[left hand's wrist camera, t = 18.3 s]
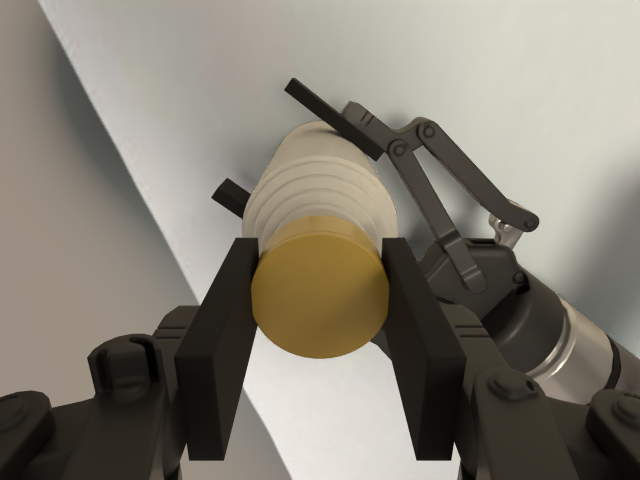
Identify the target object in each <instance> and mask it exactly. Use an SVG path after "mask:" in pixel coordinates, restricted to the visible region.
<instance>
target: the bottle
mask: <svg viewBox="0 0 640 480" xmlns="http://www.w3.org/2000/svg"><path fill="white" fill-rule="evenodd" d="M315 215H327V216H333V217H338V218H341V219H344V220H346V221H349V222H351V223H353V224H354V225H356V226H358V227H359V228H360V229H362V230H363V231H364V232H365V233H366V234H367V235H368V236H369V237H370V238H371V239H372V241H373V242H374V244H375V245H376V247H377V249H378V251H379V254H380V257H381V252H382V238H397V237H398V220H397V214H396V210H395V206H394V204H393V201H392V199H391V197H390V195H389V193H388V191H387V190H386V188H385V186H384V185H383V183H382V181H381V180H380V178H379V176H378V174H377V173H376V171H375V169H374V168H373V166H372V164H371V163H370V161H369V159H368V158H367V156H366V154H365V153H364V152H363V151H362V150H360V149H359V148H358V147H357V146H355V145H354V144H353V143H351V142H350V141H349V140H348V139H346V138H345V137H344V136H342V135H341V134H340V133H339V132H337V131H336V130H335V129H333V128H332V127H331V126H330V125H328V124H327V123H326V122H325V121H313V122H308V123H305V124H302V125H300V126H298V127H297V128H295V129H294V130H292V131H291V132H290V133H289V134H288V135H287V136H286V137H285V138H284V140H283V141H282V143H281V144H280V146H279V148H278V149H277V151H276V153H275V155H274V156H273V158H272V160H271V161H270V163H269V165H268V166H267V168H266V170H265V172H264V173H263V175H262V177H261V178H260V180H259V182H258V184H257V185H256V187H255V189H254V190H253V192H252V194H251V196H250V198H249V200H248V202H247V204H246V208H245V211H244V216H243V222H242V234H243V238H258V244H259V258H260V255H261V252H262V250H263V248H264V246H265V244H266V243H267V241H268V240H269V239H270V238H271V236H272V235H273V234H274V233H275V232H276V231H277V230H279V229H280V228H281V227H283V226H284V225H286V224H288V223H290V222H292V221H294V220H297V219H299V218H303V217H307V216H315Z"/></svg>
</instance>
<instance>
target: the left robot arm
mask: <svg viewBox="0 0 640 480" xmlns="http://www.w3.org/2000/svg"><path fill="white" fill-rule="evenodd" d="M381 260H382V263H383V265H384V268H385V271H386V274H387V277H388V280H389V302H388V315H387V317H386V320H385V322H384V324H383V328H384V332H385V336H386V340H387V344H388V348H389V352H390V356H391V360H392V364H393V368H394V372H395V376H396V380H397V384H398V388H399V392H400V396H401V400H402V404H403V408H404V412H405V416H406V420H407V424H408V428H409V432H410V436H411V440H412V444H413V448H414V452H415V456H416V460H417V461H451V458H452V452H453V445H454V442H455V445H456V447H457V450H458V453H459V456H460V458H461V461H460V467H459V473H458V479H457V480H640V395H638V394H635V393H631V392H628V391H624V390H616V389H606V390H600V391H598V392H597V393H595V394H594V395H593V396H592V399H591V403H590V406H586V405H581V404H576V403H572V402H567V401H563V400H558V399H555V398H552V397H548V396H546V395H545V392H544V391H543V390H542V388H541V387H540V385H539V384H538V383H537V382H536V381H535V380H533V379H532V378H531V377H529V376H528V375H526V374H524V373H522V372H520V371H517V370H515V369H511V368H510V366H509V365H508V363H507V362H506V360H505V358H504V357H503V355H502V354H501V352H500V351H499V349H498V348H497V346H496V345H495V343H494V342H493V340H492V339H491V338H489V334H488V332H487V331H486V329H485V328H483V325H482V323H481V322H480V320H479V319H478V317H477V316H476V314H475V313H473V312H472V311H470V310H469V309H468V308H466V307H465V306H463V305H462V304H439V303H438V301H437V299H436V297H435V295H434V293H433V291H432V289H431V288H430V286H429V284H428V282H427V280H426V278H425V276H424V274H423V272H422V270H421V268H420V266H419V265H418V263H417V261H416V259H415V257H414V255H413V253H412V251H411V249H410V247H409V245H408V243H407V242H406V240H405V238H382V252H381ZM258 261H259V244H258V238H236V239H235V241H234V242H233V244H232V246H231V248H230V250H229V252H228V254H227V256H226V258H225V260H224V262H223V264H222V266H221V267H220V269H219V271H218V273H217V275H216V277H215V279H214V281H213V283H212V285H211V287H210V289H209V290H208V292H207V294H206V296H205V298H204V300H203V302H202V304H201V306H178V307H176V308H175V309H174V310H172V311H171V312H169V313H168V314H167V315H165V317H164V318H163V320H162V321H161V323H160V324H159V326H158V329H156V330H155V332H154V334H153V335H152V336H151V335H147V334H129V335H124V336H119V337H116V338H114V339H111V340H109V341H106V342H104V343H103V344H101V345H100V346H98V347H97V348H95V349H94V350H93V351H92V352H91V354H90V355H89V356H88V357H87V359H88V363H89V367H90V371H91V376H92V380H93V384H94V388H95V392H96V393H95V396H94V398H92V399H88V400H85V401H81V402H76V403H72V404H67V405H63V406H58V407H54V408H52V407H51V404H50V400H49V398H48V397H47V396H46V395H45V394H44V393H42V392H37V391H23V392H16V393H13V394H9V395H6V396H3V397H0V480H182V473H181V467H180V459H181V456H182V454H183V451H184V448H185V445H186V443H187V448H188V455H189V460H190V461H223V460H224V458H225V454H226V450H227V446H228V442H229V438H230V434H231V430H232V426H233V422H234V418H235V414H236V410H237V406H238V402H239V398H240V394H241V390H242V386H243V382H244V378H245V374H246V370H247V366H248V362H249V358H250V354H251V350H252V346H253V342H254V338H255V334H256V330H257V326H258V325H257V323H256V321H255V319H254V316H253V310H252V295H251V282H252V279H253V276H254V273H255V270H256V267H257V264H258Z"/></svg>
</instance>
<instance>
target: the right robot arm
mask: <svg viewBox="0 0 640 480" xmlns="http://www.w3.org/2000/svg"><path fill="white" fill-rule="evenodd" d="M285 91H286V92H287V93H289V94H290V95H291V96H292V97H294V98H295V99H296V100H298V101H299V102H300V103H301V104H303V105H304V106H305V107H307V108H308V109H309V110H310V111H312V112H313V113H314V114H316V115H317V116H318V117H319V118H321V119H322V120H323V121H325V122H326V123H327V124H328V125H330V126H331V127H332V128H333V129H335V130H336V131H337V132H339V133H340V134H341V135H342V136H344V137H345V138H346V139H348V140H349V141H350V142H351V143H353V144H354V145H355V146H357V147H358V148H359V149H360V150H362V151H363V152H364V153H366V154H367V155H368V156H369V157H371V158H372V159H373V160H375V161H377V160H378V159H379V157H380V156H381V155H382V154H383V152H386V153H387V155H388V156H389V158H390V160H391V162H392V163H393V165H394V167H395V168H396V170H397V172H398V173H399V175H400V177H401V179H402V180H403V182H404V184H405V185H406V187H407V189H408V191H409V192H410V194H411V196H412V197H413V199H414V201H415V202H416V204H417V206H418V208H419V209H420V211H421V213H422V214H423V216H424V218H425V219H426V221H427V223H428V225H429V226H430V229H431V230H432V232H433V234H434V235H435V237H436V239H437V241H438V242H437V241H435V242H434V243H433V244H432V245H431V246H430V248H429V249H428V250H427V252H426V254H425V256H424V258H423V259H422V260H421V261H419V262H418V265H419V266H420V268H421V270H422V272H423V274H424V276H425V278H426V280H427V282H428V284H429V286H430V288H431V289H432V291H433V293H434V295H435V297H436V299H437V301H438V303H439V304H462V305H463V306H465V307H466V308H468V309H469V310H470V311H472V312H473V313H475V314H476V316H477V317H478V319H479V320H480V322H481V323H482V325H483V328H485V329H486V331H487V332H488V334H489V338H491V339H492V340H493V342H494V343H495V345H496V346H497V348H498V349H499V351H500V352H501V354H502V355H503V357H504V358H505V360H506V362H507V363H508V365H509V366H510V368H511V369H515V370H517V371H520V372H522V373H524V374H526V375H528V376H529V377H531V378H532V379H533V380H535V381H536V382H537V383H538V384H539V385H540V387H541V388H542V390H543V391H544V392H545V395H546V396H548V397H552V398H555V399H558V400H563V401H567V402H572V403H576V404H581V405H586V406H590V403H591V399H592V396H593V395H594V394H595V393H597V392H598V391H600V390H606V389H616V390H624V391H628V392H631V393H635V394H638V395H640V359H638V358H637V357H636V356H634V355H633V354H632V353H630V352H629V351H628V350H626V349H625V348H624V347H622V346H621V345H619V344H618V343H617V342H615V341H614V340H613V339H611V338H610V337H609V336H608V335H607V334H606V333H605V332H604V331H603V330H602V329H600V328H599V327H598V326H597V325H595V324H594V323H593V322H591V321H590V320H589V319H588V318H586V317H585V316H584V315H583V314H581V313H580V312H579V311H578V310H576V309H575V308H574V307H573V306H571V305H570V304H569V303H567V302H566V301H565V300H563V299H562V298H560V297H558V296H557V295H556V293H555V292H553V291H552V290H551V289H550V288H548V287H547V286H546V285H544V284H543V283H542V282H541V281H539V280H538V279H537V278H536V277H534V276H533V275H532V274H530V273H529V272H528V271H527V270H525V269H524V268H523V267H522V266H520V265H519V264H518V263H517V260H516V257H515V254H514V252H513V251H512V249H513V247H514V246H515V244H516V243H517V241H518V240H519V238H520V237H521V235H522V233H523V232H532V231H534V230H535V229H536V228H537V227H538V225H539V218H538V216H536V215H535V214H533V213H532V212H530V211H529V210H527V209H526V208H524V207H522V206H521V205H519V204H518V203H516V202H513V201H511V200H509V199H507V198H505V196H504V195H503V194H502V193H501V192H500V191H499V190H498V189H497V188H496V187H495V186H494V185H493V184H492V182H491V181H490V180H489V179H488V178H487V177H486V176H485V175H484V174H483V173H482V172H481V171H480V170H479V168H478V167H477V166H476V165H475V164H474V163H473V162H472V161H471V160H470V159H469V158H468V157H467V156H466V155H465V153H464V152H463V151H462V150H461V149H460V148H459V147H458V146H457V145H456V144H455V143H454V142H453V141H452V139H451V138H450V137H449V136H448V135H447V134H446V133H445V132H444V131H443V130H442V129H441V128H440V127H439V125H438V124H437V123H435V122H434V121H431V120H429V119H426V118H423V117H417V118H415V119H414V120H413V121H412V122H411V123H410V124H408V125H407V126H405V127H404V128H402V129H399V130H392V129H390V128H389V127H387V126H386V125H385V124H384V123H382V122H381V121H380V120H379V119H377V118H376V117H375V116H374V115H373V114H371V113H370V112H369V111H368V110H366V109H365V108H364V107H363V106H361V105H360V104H359V103H356V102H352V101H349V103H348V104H347V105H346V107H345V108H344V109H343V111H342V112H341V113H338V112H337V111H336V110H335V109H333V108H332V107H331V106H330V105H328V104H327V103H326V102H324V101H323V100H322V99H321V98H319V97H318V96H317V95H316V94H314V93H313V92H312V91H311V90H309V89H308V88H307V87H306V86H304V85H303V84H302V83H300V82H299V81H298V80H297V79H295V78H292V79H291V81H290V82H289V84H288V85H287V87H286V88H285ZM422 145H423V146H424V147H425V148H426V149H427V150H428V151H429V152H430V153H431V154H432V155H433V156H434V157H435V158H436V159H437V160H438V162H439V163H440V164H441V165H442V166H443V167H444V168H445V169H446V170H447V171H448V172H449V173H450V174H451V175H452V176H453V177H454V178H455V179H456V180H457V181H458V182H459V183H460V184H461V186H462V187H463V188H464V189H465V190H466V191H467V192H468V193H469V194H470V195H471V196H472V197H473V198H474V199H475V200H476V201H477V202H478V203H479V204H480V205H481V206H482V207H484V208H485V209H486V210H487V211H489V212H490V213H491V214H490V216H489V224H490V226H491V227H492V228H493V229H494V230H495V233H496V234H495V238H494V239H483V238H462V237H461V235H460V234H459V232H458V231H457V229H456V228H455V226H454V224H453V223H452V221H451V219H450V217H449V215H448V214H447V212H446V210H445V208H444V207H443V205H442V203H441V201H440V200H439V198H438V196H437V194H436V192H435V191H434V189H433V187H432V185H431V184H430V182H429V180H428V178H427V176H426V175H425V173H424V171H423V169H422V168H421V166H420V164H419V162H418V161H417V159H416V157H415V155H414V153H413V152H412V151H414V150H415V149H417V148H419V147H420V146H422ZM250 196H251V194H250V193H248V192H247V191H245V190H244V189H243V188H241V187H240V186H238V185H237V184H235V183H234V182H232V181H231V180H230V179H228V178H227V179H226V180H225V181H224V182H223V183H222V184H221V185H220V186H219V187H218V188H217V190H216V191H215V193H214V194H213V196H212V197H211V198H212V199H214V200H215V201H216V202H218V203H219V204H221V205H222V206H224V207H225V208H227V209H228V210H230V211H231V212H233V213H234V214H236V215H237V216H239V217H240V218H242V219H243V216H244V211H245V208H246V204H247V202H248V200H249V198H250ZM370 342H372V343H374V344H376V345H378V346H379V348H380V349H381V350H382V351H383V352H384V353H385V354H386V355H387V356H388V357H389V358H390V359H391V356H390V352H389V348H388V344H387V340H386V336H385V332H384V328H383V325H382V327H381V329H380V330H379V331H378V333H377V334H376V335H375V336H374V337H373V338H372V339H371V340H370ZM391 361H392V360H391Z"/></svg>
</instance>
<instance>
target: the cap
mask: <svg viewBox="0 0 640 480" xmlns="http://www.w3.org/2000/svg"><path fill="white" fill-rule="evenodd" d="M251 295H252V310H253V316H254V319H255V321H256V323H257V325H258V326H259V328H260V329H261V331H262V332H263V333H264V334H265V335H266V337H267V338H268V339H269V340H271V341H272V342H273V343H274V344H276V345H277V346H279V347H280V348H282V349H284V350H286V351H288V352H290V353H292V354H295V355H298V356H302V357H307V358H317V359H324V358H333V357H339V356H342V355H345V354H348V353H351V352H353V351H355V350H357V349H359V348H360V347H362V346H364V345H365V344H366V343H367V342H369V341H370V340H371V339H372V338H373V337H374V336H375V335H376V334H377V333H378V331H379V330H380V329H381V327H382V325H383V324H384V322H385V320H386V317H387V315H388V302H389V280H388V277H387V274H386V271H385V268H384V265H383V263H382V260H381V257H380V254H379V251H378V249H377V247H376V245H375V244H374V242H373V241H372V239H371V238H370V237H369V236H368V235H367V234H366V233H365V232H364V231H363V230H362V229H360V228H359V227H358V226H356V225H354V224H353V223H351V222H349V221H346V220H344V219H341V218H338V217H333V216H327V215H315V216H307V217H303V218H299V219H297V220H294V221H292V222H290V223H288V224H286V225H284V226H283V227H281V228H280V229H279V230H277V231H276V232H275V233H274V234H273V235H272V236H271V238H270V239H269V240H268V241H267V243H266V244H265V246H264V248H263V250H262V252H261V255H260V258H259V261H258V264H257V267H256V270H255V273H254V276H253V279H252V282H251Z"/></svg>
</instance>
